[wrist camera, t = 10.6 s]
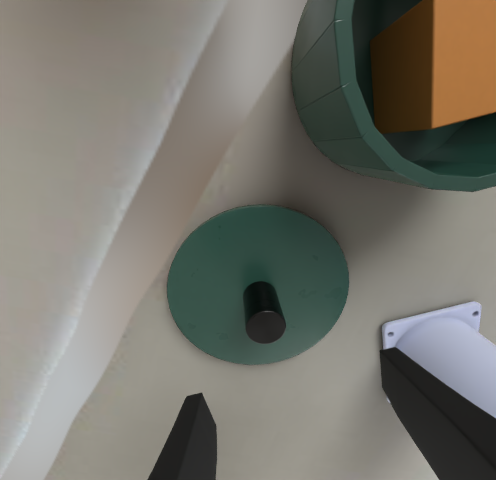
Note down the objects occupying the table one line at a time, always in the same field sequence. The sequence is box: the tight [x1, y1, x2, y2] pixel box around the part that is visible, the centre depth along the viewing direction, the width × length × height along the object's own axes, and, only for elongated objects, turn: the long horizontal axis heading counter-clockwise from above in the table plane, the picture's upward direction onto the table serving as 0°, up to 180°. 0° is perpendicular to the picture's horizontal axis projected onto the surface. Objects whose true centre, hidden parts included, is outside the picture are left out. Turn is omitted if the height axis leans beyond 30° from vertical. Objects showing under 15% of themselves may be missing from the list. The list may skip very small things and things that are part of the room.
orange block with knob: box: [370, 0, 496, 134], centre depth 12 cm, size 8×4×5 cm, turn 13°
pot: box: [292, 0, 496, 192], centre depth 11 cm, size 12×12×6 cm
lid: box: [167, 204, 349, 365], centre depth 17 cm, size 13×13×5 cm
